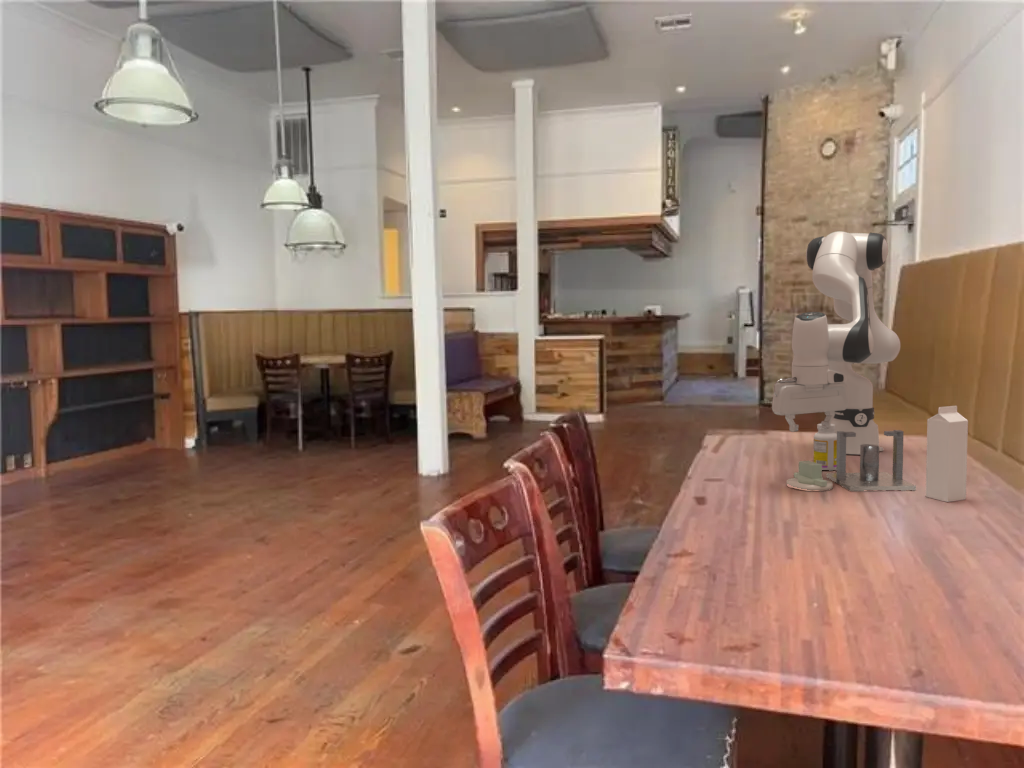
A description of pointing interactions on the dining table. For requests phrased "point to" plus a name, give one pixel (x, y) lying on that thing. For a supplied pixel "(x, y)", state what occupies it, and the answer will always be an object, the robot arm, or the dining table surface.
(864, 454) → the twin post base plate
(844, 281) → the robot arm
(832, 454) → the supplement bottle
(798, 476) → the pale green disc-and-bar piece
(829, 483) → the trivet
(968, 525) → the dining table surface
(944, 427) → the milk
